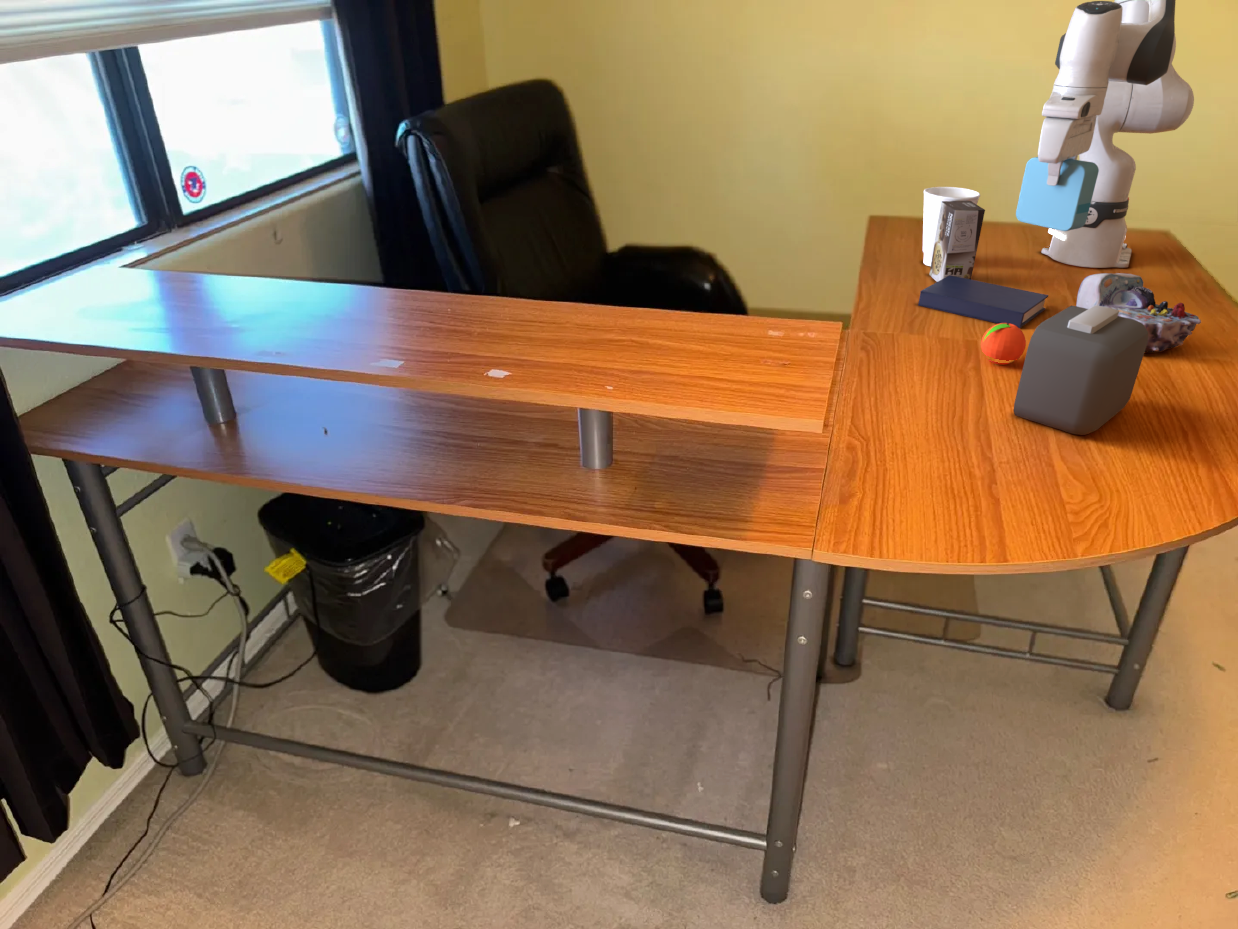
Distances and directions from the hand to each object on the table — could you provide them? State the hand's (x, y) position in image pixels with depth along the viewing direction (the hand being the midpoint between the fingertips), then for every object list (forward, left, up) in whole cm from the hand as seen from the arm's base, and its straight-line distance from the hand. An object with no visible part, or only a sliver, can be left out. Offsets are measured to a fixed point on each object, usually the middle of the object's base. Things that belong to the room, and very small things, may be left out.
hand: (1057, 182), depth 165 cm
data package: (0, 0, -8) cm, 8 cm away
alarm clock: (+49, +23, -24) cm, 59 cm away
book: (+9, -6, -24) cm, 26 cm away
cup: (-15, -25, -24) cm, 38 cm away
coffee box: (-4, -18, -24) cm, 30 cm away
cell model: (+9, +20, -24) cm, 32 cm away
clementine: (+36, +7, -24) cm, 43 cm away
